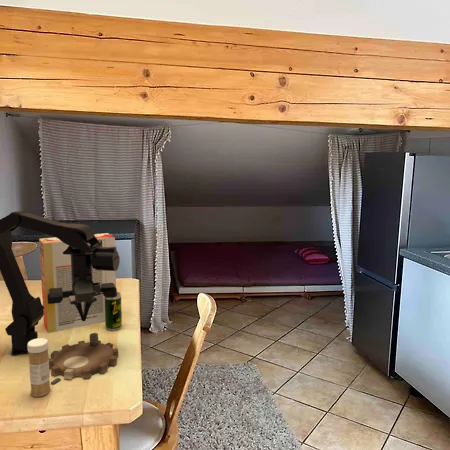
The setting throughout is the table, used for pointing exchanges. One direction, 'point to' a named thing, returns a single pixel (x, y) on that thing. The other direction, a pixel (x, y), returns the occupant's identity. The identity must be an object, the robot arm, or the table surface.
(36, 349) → the sprinkles bottle
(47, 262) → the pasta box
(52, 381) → the index mark
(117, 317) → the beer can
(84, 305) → the robot arm
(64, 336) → the table surface
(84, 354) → the brown gear wheel
